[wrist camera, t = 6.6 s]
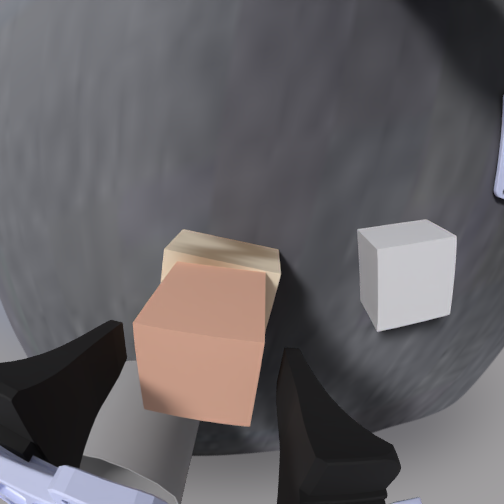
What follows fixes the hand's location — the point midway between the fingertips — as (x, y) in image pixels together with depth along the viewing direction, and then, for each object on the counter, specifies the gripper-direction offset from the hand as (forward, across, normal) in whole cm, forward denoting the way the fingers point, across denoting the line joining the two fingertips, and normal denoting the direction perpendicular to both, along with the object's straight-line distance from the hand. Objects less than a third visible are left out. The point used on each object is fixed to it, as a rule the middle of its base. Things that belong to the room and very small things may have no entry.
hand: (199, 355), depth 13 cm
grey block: (+8, -11, -3) cm, 14 cm away
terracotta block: (+4, 0, 0) cm, 4 cm away
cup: (+8, +5, +12) cm, 15 cm away
